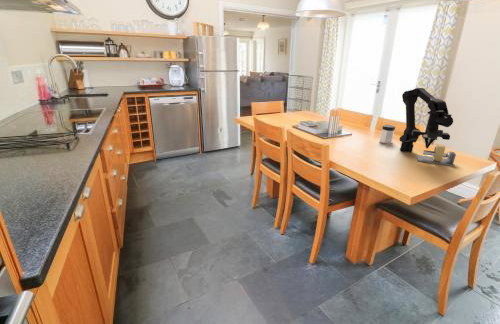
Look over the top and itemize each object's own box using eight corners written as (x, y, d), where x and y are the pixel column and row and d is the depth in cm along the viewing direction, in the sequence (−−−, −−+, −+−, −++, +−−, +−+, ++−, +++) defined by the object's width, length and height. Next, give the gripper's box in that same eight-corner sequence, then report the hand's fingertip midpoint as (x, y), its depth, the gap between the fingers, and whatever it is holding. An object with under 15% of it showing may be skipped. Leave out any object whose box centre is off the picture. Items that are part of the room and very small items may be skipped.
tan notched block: (433, 160, 163) (437, 146, 160) (432, 157, 168) (435, 143, 165) (441, 161, 161) (445, 147, 158) (439, 158, 166) (443, 144, 163)
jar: (394, 142, 200) (398, 126, 196) (387, 144, 197) (390, 127, 192) (384, 139, 207) (387, 124, 203) (376, 140, 204) (379, 125, 200)
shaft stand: (417, 161, 165) (420, 151, 162) (416, 156, 173) (418, 146, 171) (453, 166, 158) (456, 155, 155) (450, 160, 166) (453, 150, 164)
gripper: (416, 124, 156) (410, 150, 162) (455, 127, 149) (447, 154, 155) (414, 120, 165) (408, 144, 171) (451, 123, 158) (443, 149, 164)
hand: (426, 148), depth 165 cm, fingers closed
